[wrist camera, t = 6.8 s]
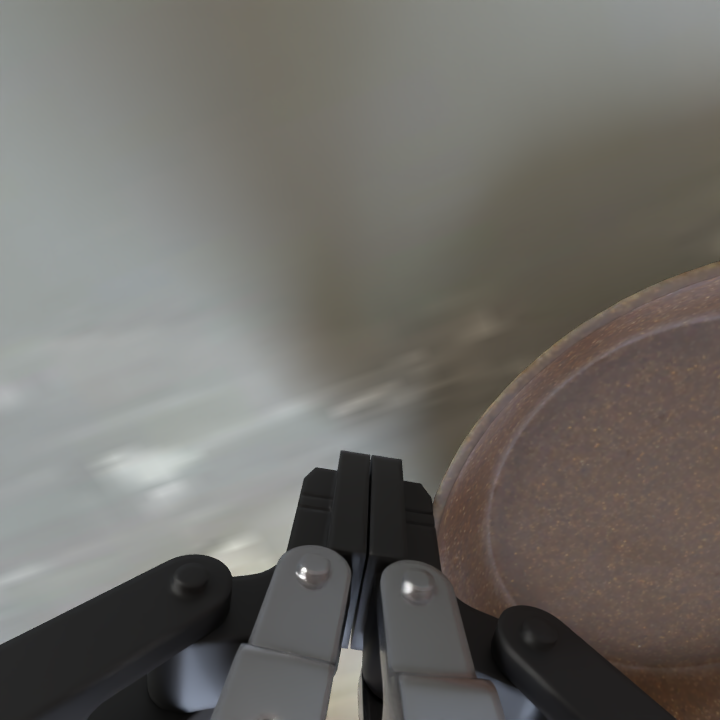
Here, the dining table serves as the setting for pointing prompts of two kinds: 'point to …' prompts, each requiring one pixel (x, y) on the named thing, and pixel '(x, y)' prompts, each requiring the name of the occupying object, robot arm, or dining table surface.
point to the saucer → (606, 492)
